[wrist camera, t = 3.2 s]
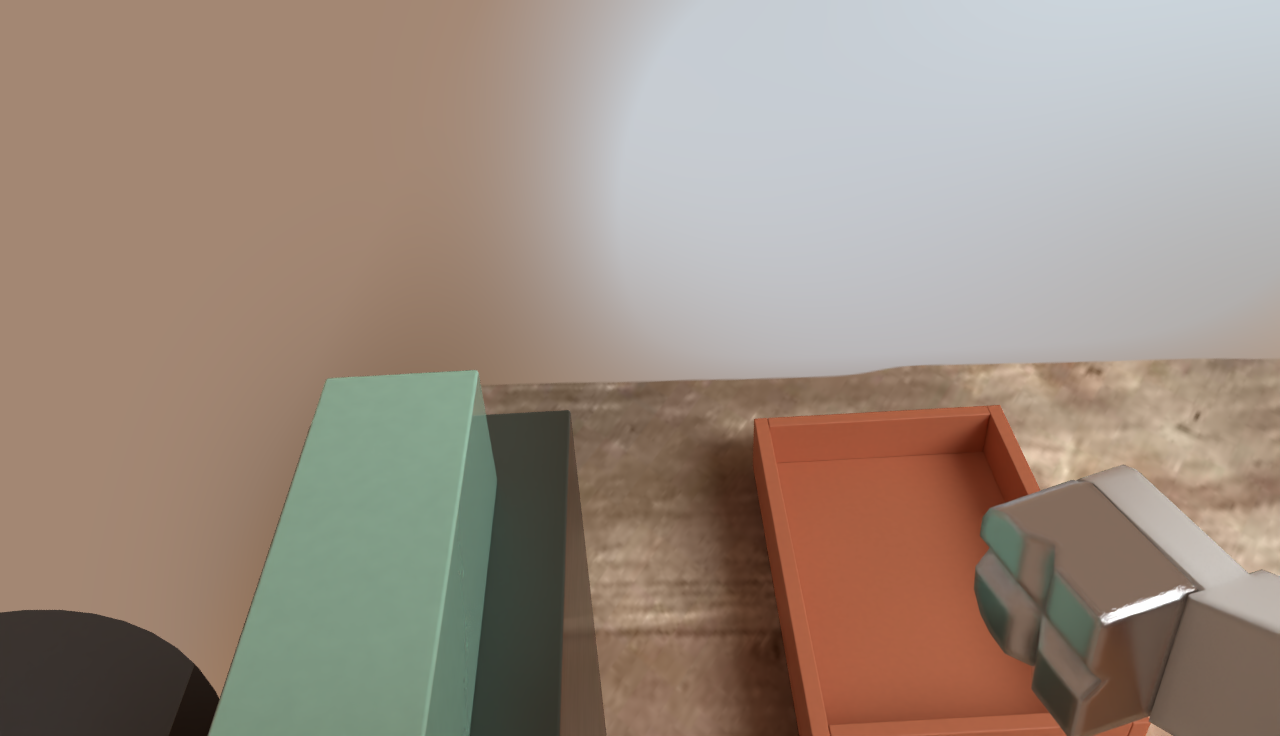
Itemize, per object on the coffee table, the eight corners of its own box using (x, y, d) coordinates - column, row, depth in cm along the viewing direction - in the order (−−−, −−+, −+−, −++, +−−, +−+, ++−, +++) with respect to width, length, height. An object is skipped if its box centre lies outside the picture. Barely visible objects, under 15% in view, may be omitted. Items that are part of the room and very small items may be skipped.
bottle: (161, 1244, 17) (65, 1156, 14) (357, 488, 30) (325, 376, 28) (416, 1230, 17) (365, 1140, 14) (497, 480, 30) (478, 368, 28)
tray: (808, 789, 48) (812, 740, 46) (752, 465, 65) (754, 418, 63) (1130, 772, 48) (1151, 722, 46) (990, 452, 65) (1000, 404, 63)
